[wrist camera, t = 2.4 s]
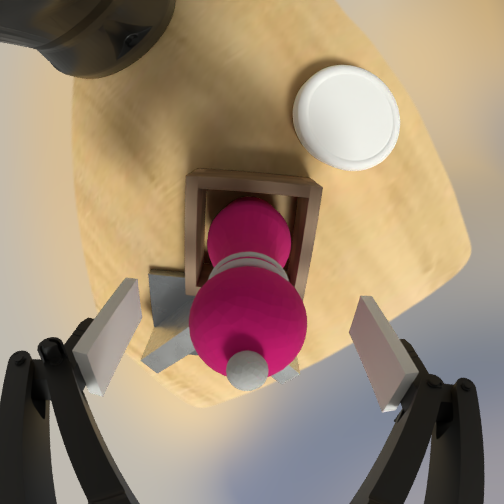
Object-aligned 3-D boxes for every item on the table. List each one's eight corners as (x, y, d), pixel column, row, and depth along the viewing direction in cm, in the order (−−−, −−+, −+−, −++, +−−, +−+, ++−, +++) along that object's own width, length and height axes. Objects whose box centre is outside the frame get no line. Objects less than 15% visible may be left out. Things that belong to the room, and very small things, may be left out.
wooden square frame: (197, 168, 26) (186, 175, 22) (310, 178, 27) (322, 187, 22) (194, 270, 31) (185, 294, 26) (295, 278, 31) (302, 303, 27)
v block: (159, 344, 35) (145, 383, 28) (151, 269, 31) (129, 304, 24) (288, 355, 36) (294, 396, 29) (303, 281, 31) (316, 320, 25)
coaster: (373, 178, 27) (388, 185, 24) (281, 152, 26) (285, 154, 23) (394, 91, 23) (410, 88, 20) (303, 58, 22) (310, 49, 19)
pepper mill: (206, 249, 30) (154, 412, 11) (223, 183, 27) (165, 290, 9) (273, 266, 31) (297, 435, 12) (294, 202, 28) (369, 334, 9)
